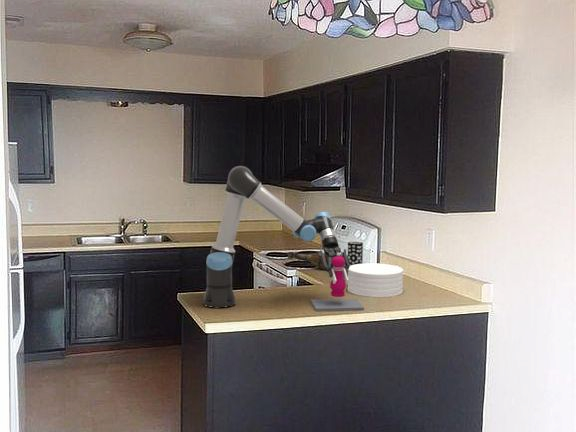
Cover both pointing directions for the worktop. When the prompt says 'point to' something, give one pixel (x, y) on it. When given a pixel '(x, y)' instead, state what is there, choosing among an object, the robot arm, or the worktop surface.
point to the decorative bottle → (311, 258)
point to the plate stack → (375, 280)
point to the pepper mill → (338, 277)
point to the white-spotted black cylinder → (355, 253)
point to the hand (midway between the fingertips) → (340, 281)
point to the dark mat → (336, 304)
